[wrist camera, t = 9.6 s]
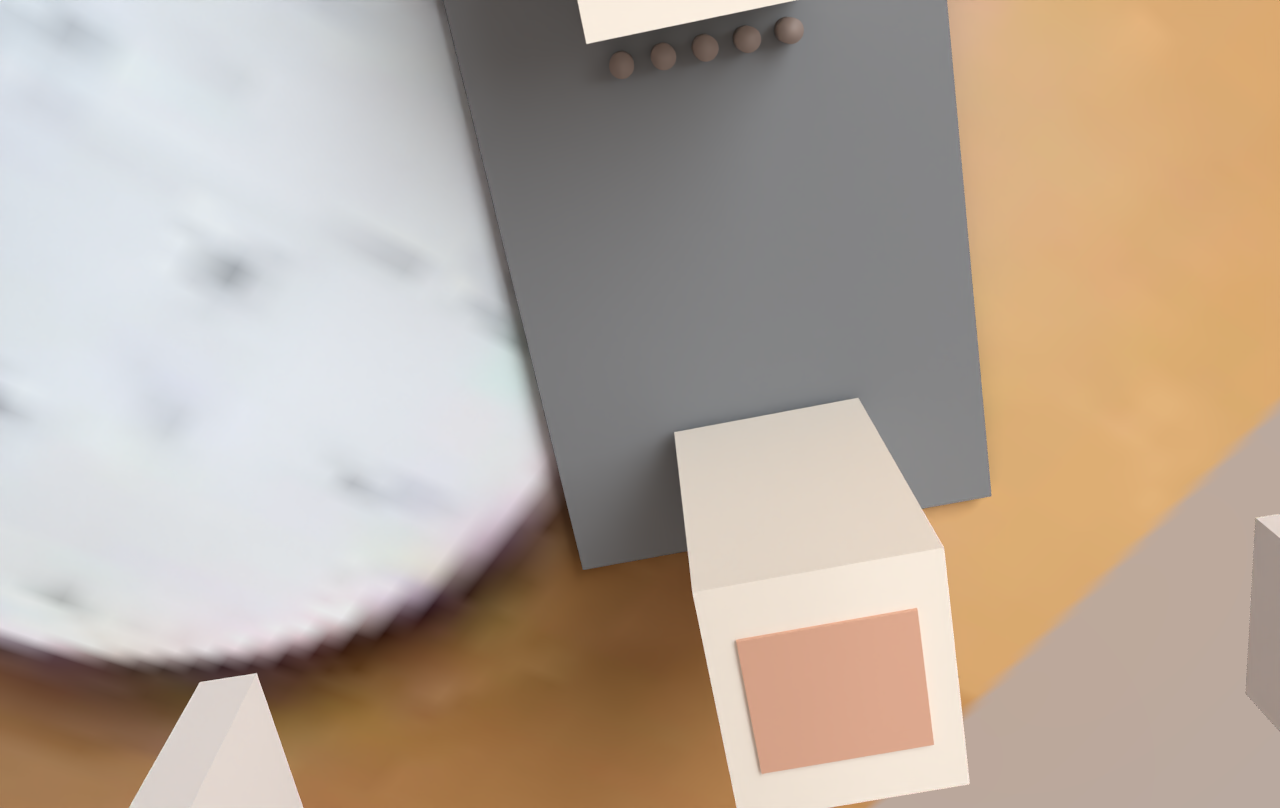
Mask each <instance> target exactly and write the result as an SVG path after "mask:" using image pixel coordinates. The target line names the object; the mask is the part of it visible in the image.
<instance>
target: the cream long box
mask: <svg viewBox="0 0 1280 808" xmlns="http://www.w3.org/2000/svg"><path fill="white" fill-rule="evenodd" d="M577 1H578V6H579V11H580V16H581V20H582V25H583V30H584V35H585V40H586V44H589V43H593V42H598V41H603V40H608V39H613V38H617V37H622V36H627V35H632V34H637V33H641V32H646V31H651V30H656V29H661V28H665V27H670V26H675V25H680V24H685V23H689V22H694V21H699V20H704V19H709V18H713V17H718V16H723V15H728V14H733V13H737V12H742V11H747V10H752V9H757V8H761V7H766V6H771V5H776V4H781V3H785V2H790V1H795V0H577ZM803 33H804V27H803V24H802V23H801V21H800V20H798V19H796V18H793V17H782V18H780V19H779V20H778V21H777V22H776V24H775V27H774V34H775V36H776V38H777V39H778V40H779V41H781V42H784V43H787V44H795V43H797V42H798V41H799V40H800V39H801V38H802V36H803ZM733 43H734V45H735V47H736V48H737V49H739V50H741V51H742V52H745V53H751V52H754V51H755V50H757V49H758V47H759V46H760V43H761V35H760V33H759V31H758V30H757V29H756V28H754V27H751V26H748V25H743V26H740V27H738V28H737V29H736V30H735V32H734V34H733ZM691 48H692V52H693V54H694V55H695V56H696V57H697V58H698V59H699V60H701V61H704V62H708V61H711V60H713V59H714V58H715V57H716V55H717V54H718V50H719V47H718V43H717V41H716V40H715V39H714V38H713V37H712V36H710V35H708V34H700V35H698V36H696V37H695V38H694V40H693V42H692V46H691ZM650 57H651V61H652V63H653V65H654V66H655V67H656V68H657V69H659V70H668V69H670V68H671V67H672V66H673V65H674V64H675V62H676V53H675V50H674V49H673V48H672V46H671V45H669V44H668V43H664V42H661V43H658V44H656V45H655V46H654V47H653V48H652V50H651V54H650ZM609 69H610V72H611V74H612V75H613V76H614V77H616V78H618V79H625V78H627V77H629V76H630V75H631V74H632V72H633V70H634V61H633V58H632V56H631V55H630V54H629V53H627V52H625V51H618V52H616V53H614V54H613V55H612V57H611V59H610V63H609Z"/></svg>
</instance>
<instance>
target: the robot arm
mask: <svg viewBox="0 0 1280 808" xmlns="http://www.w3.org/2000/svg"><path fill="white" fill-rule="evenodd" d="M1246 695H1247V696H1248V697H1249V698H1250V699H1251V700H1252V701H1253V702H1254V704H1255V705H1256V706H1257V707H1258V708H1259V709H1260V710H1261V711H1262V713H1263V714H1264V715H1265V716H1266V717H1267V718H1268V719H1269V720H1270V721H1271V723H1272V724H1273V725H1274V726H1275V727H1276V728H1277V729H1278V730H1279V731H1280V514H1276V515H1270V516H1263V517H1257V518H1255V534H1254V551H1253V570H1252V587H1251V606H1250V623H1249V642H1248V658H1247V677H1246ZM129 808H303V805H302V803H301V800H300V797H299V794H298V791H297V788H296V785H295V782H294V780H293V777H292V774H291V771H290V768H289V765H288V762H287V759H286V756H285V754H284V751H283V748H282V745H281V742H280V739H279V736H278V733H277V730H276V728H275V725H274V722H273V719H272V716H271V713H270V710H269V707H268V704H267V702H266V699H265V696H264V693H263V690H262V687H261V684H260V681H259V679H258V676H257V673H255V674H249V675H243V676H236V677H230V678H223V679H217V680H210V681H204V682H200V683H199V685H198V686H197V688H196V690H195V692H194V693H193V695H192V697H191V699H190V701H189V702H188V704H187V706H186V708H185V709H184V711H183V713H182V715H181V716H180V718H179V720H178V722H177V724H176V725H175V727H174V729H173V731H172V732H171V734H170V736H169V738H168V739H167V741H166V743H165V745H164V747H163V748H162V750H161V752H160V754H159V755H158V757H157V759H156V761H155V762H154V764H153V766H152V768H151V770H150V771H149V773H148V775H147V777H146V778H145V780H144V782H143V784H142V785H141V787H140V789H139V791H138V793H137V794H136V796H135V798H134V800H133V801H132V803H131V805H130V807H129Z"/></svg>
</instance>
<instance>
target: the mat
mask: <svg viewBox="0 0 1280 808" xmlns="http://www.w3.org/2000/svg"><path fill="white" fill-rule="evenodd" d="M443 2H444V6H445V10H446V14H447V18H448V22H449V26H450V30H451V34H452V38H453V42H454V46H455V50H456V54H457V59H458V63H459V67H460V71H461V75H462V79H463V83H464V87H465V91H466V95H467V99H468V103H469V107H470V112H471V116H472V120H473V124H474V128H475V132H476V136H477V140H478V144H479V148H480V152H481V156H482V160H483V165H484V169H485V173H486V177H487V181H488V185H489V189H490V193H491V197H492V201H493V205H494V209H495V213H496V217H497V222H498V226H499V230H500V234H501V238H502V242H503V246H504V250H505V254H506V258H507V262H508V266H509V270H510V275H511V279H512V283H513V287H514V291H515V295H516V299H517V303H518V307H519V311H520V315H521V319H522V323H523V327H524V332H525V336H526V340H527V344H528V348H529V352H530V356H531V360H532V364H533V368H534V372H535V376H536V380H537V385H538V389H539V393H540V397H541V401H542V405H543V409H544V413H545V417H546V421H547V425H548V429H549V433H550V438H551V442H552V446H553V450H554V454H555V458H556V462H557V466H558V470H559V474H560V478H561V482H562V486H563V490H564V495H565V499H566V503H567V507H568V511H569V515H570V519H571V523H572V527H573V531H574V535H575V539H576V543H577V548H578V552H579V556H580V560H581V564H582V568H583V570H586V569H591V568H597V567H602V566H608V565H613V564H619V563H624V562H630V561H636V560H641V559H647V558H652V557H658V556H663V555H669V554H674V553H680V552H685V551H688V550H687V541H686V532H685V523H684V514H683V506H682V497H681V488H680V479H679V470H678V462H677V453H676V444H675V435H674V432H678V431H683V430H689V429H694V428H699V427H705V426H710V425H715V424H721V423H726V422H731V421H737V420H742V419H747V418H753V417H758V416H763V415H769V414H774V413H779V412H785V411H790V410H795V409H801V408H806V407H812V406H817V405H822V404H828V403H833V402H838V401H844V400H849V399H854V398H859V400H860V402H861V403H862V405H863V407H864V409H865V410H866V412H867V414H868V416H869V417H870V419H871V421H872V423H873V424H874V426H875V428H876V430H877V431H878V433H879V435H880V437H881V438H882V440H883V442H884V444H885V445H886V447H887V449H888V451H889V452H890V454H891V456H892V458H893V459H894V461H895V463H896V465H897V466H898V468H899V470H900V472H901V473H902V475H903V477H904V479H905V480H906V482H907V484H908V486H909V487H910V489H911V491H912V493H913V494H914V496H915V498H916V500H917V501H918V503H919V505H920V507H921V508H922V509H923V508H929V507H934V506H940V505H945V504H951V503H956V502H962V501H967V500H973V499H978V498H984V497H990V496H991V486H990V475H989V463H988V452H987V441H986V430H985V419H984V408H983V397H982V385H981V374H980V363H979V352H978V341H977V330H976V319H975V307H974V296H973V285H972V274H971V263H970V252H969V241H968V229H967V218H966V207H965V196H964V185H963V174H962V163H961V152H960V140H959V129H958V118H957V107H956V96H955V85H954V74H953V62H952V51H951V40H950V29H949V18H948V7H947V0H795V1H790V2H785V3H781V4H776V5H771V6H766V7H761V8H757V9H752V10H747V11H742V12H737V13H733V14H728V15H723V16H718V17H713V18H709V19H704V20H699V21H694V22H689V23H685V24H680V25H675V26H670V27H665V28H661V29H656V30H651V31H646V32H641V33H637V34H632V35H627V36H622V37H617V38H613V39H608V40H603V41H598V42H593V43H589V44H586V40H585V35H584V30H583V25H582V20H581V16H580V11H579V6H578V1H577V0H443ZM782 17H793V18H796V19H798V20H800V21H801V23H802V24H803V27H804V33H803V36H802V38H801V39H800V40H799V41H798V42H797V43H795V44H787V43H784V42H781V41H779V40H778V39H777V38H776V36H775V34H774V27H775V24H776V22H777V21H778V20H779V19H780V18H782ZM743 25H748V26H751V27H754V28H756V29H757V30H758V31H759V33H760V35H761V43H760V46H759V47H758V49H757V50H755V51H754V52H751V53H745V52H742V51H741V50H739V49H737V48H736V47H735V45H734V43H733V34H734V32H735V30H736V29H737V28H738V27H740V26H743ZM700 34H708V35H710V36H712V37H713V38H714V39H715V40H716V41H717V43H718V47H719V50H718V54H717V55H716V57H715V58H714V59H713V60H711V61H708V62H704V61H701V60H699V59H698V58H697V57H696V56H695V55H694V54H693V52H692V48H691V46H692V42H693V40H694V38H695V37H696V36H698V35H700ZM661 42H664V43H668V44H669V45H671V46H672V48H673V49H674V50H675V53H676V62H675V64H674V65H673V66H672V67H671V68H670V69H668V70H659V69H657V68H656V67H655V66H654V65H653V63H652V61H651V57H650V54H651V50H652V48H653V47H654V46H655V45H656V44H658V43H661ZM618 51H625V52H627V53H629V54H630V55H631V56H632V58H633V61H634V70H633V72H632V74H631V75H630V76H629V77H627V78H625V79H618V78H616V77H614V76H613V75H612V74H611V72H610V69H609V63H610V59H611V57H612V55H613V54H614V53H616V52H618Z"/></svg>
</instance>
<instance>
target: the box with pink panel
mask: <svg viewBox="0 0 1280 808" xmlns="http://www.w3.org/2000/svg"><path fill="white" fill-rule="evenodd" d="M674 435H675V444H676V453H677V462H678V470H679V479H680V488H681V497H682V506H683V514H684V523H685V532H686V541H687V550H688V558H689V567H690V576H691V585H692V593H693V598H694V603H695V608H696V613H697V617H698V622H699V627H700V632H701V637H702V642H703V646H704V651H705V656H706V661H707V666H708V671H709V676H710V680H711V685H712V690H713V695H714V700H715V705H716V710H717V714H718V719H719V724H720V729H721V734H722V739H723V743H724V748H725V753H726V758H727V763H728V768H729V773H730V777H731V782H732V787H733V792H734V797H735V802H736V807H737V808H829V807H835V806H841V805H847V804H853V803H859V802H865V801H871V800H877V799H883V798H889V797H895V796H901V795H907V794H913V793H919V792H925V791H931V790H937V789H943V788H949V787H956V786H961V785H968V784H970V781H969V773H968V763H967V754H966V745H965V736H964V727H963V717H962V708H961V699H960V690H959V681H958V672H957V662H956V653H955V644H954V635H953V626H952V617H951V607H950V598H949V589H948V580H947V571H946V562H945V552H944V547H943V545H942V543H941V542H940V540H939V538H938V536H937V535H936V533H935V531H934V529H933V528H932V526H931V524H930V522H929V521H928V519H927V517H926V515H925V514H924V512H923V510H922V508H921V507H920V505H919V503H918V501H917V500H916V498H915V496H914V494H913V493H912V491H911V489H910V487H909V486H908V484H907V482H906V480H905V479H904V477H903V475H902V473H901V472H900V470H899V468H898V466H897V465H896V463H895V461H894V459H893V458H892V456H891V454H890V452H889V451H888V449H887V447H886V445H885V444H884V442H883V440H882V438H881V437H880V435H879V433H878V431H877V430H876V428H875V426H874V424H873V423H872V421H871V419H870V417H869V416H868V414H867V412H866V410H865V409H864V407H863V405H862V403H861V402H860V400H859V398H854V399H849V400H844V401H838V402H833V403H828V404H822V405H817V406H812V407H806V408H801V409H795V410H790V411H785V412H779V413H774V414H769V415H763V416H758V417H753V418H747V419H742V420H737V421H731V422H726V423H721V424H715V425H710V426H705V427H699V428H694V429H689V430H683V431H678V432H674Z"/></svg>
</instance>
